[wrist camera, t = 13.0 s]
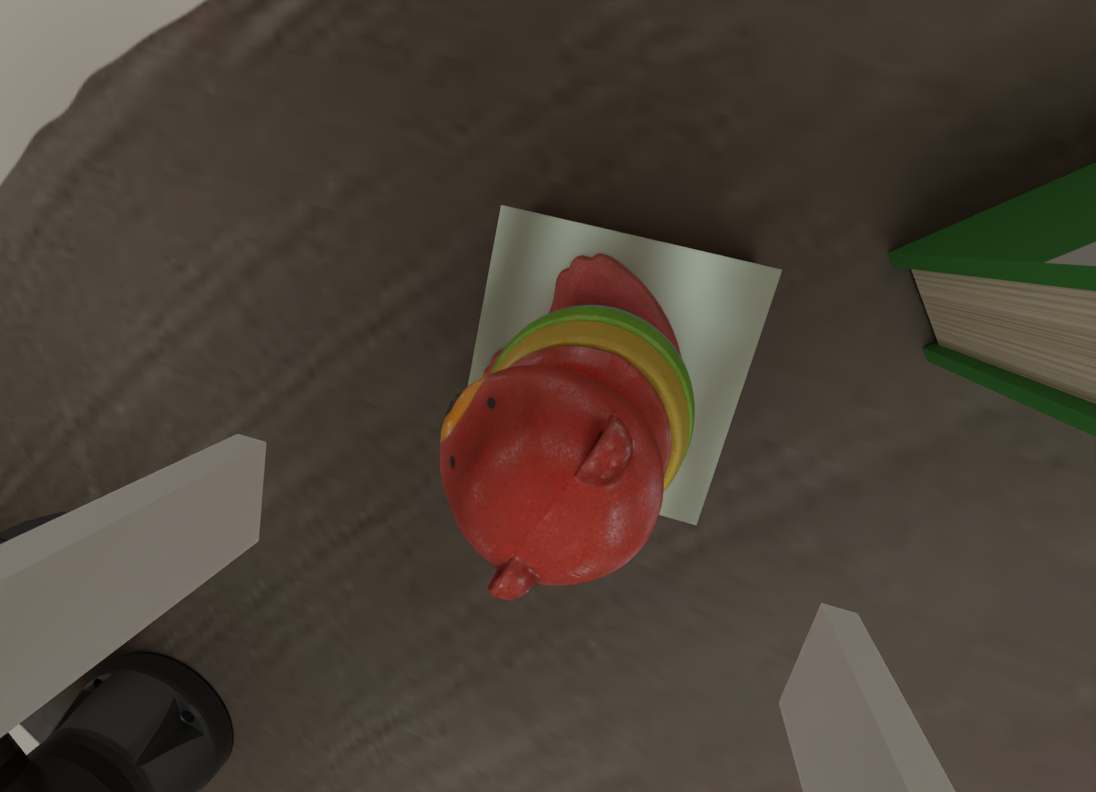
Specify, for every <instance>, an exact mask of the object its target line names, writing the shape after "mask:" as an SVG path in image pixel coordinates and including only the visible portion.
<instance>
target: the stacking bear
mask: <svg viewBox="0 0 1096 792" xmlns="http://www.w3.org/2000/svg"><path fill="white" fill-rule="evenodd" d="M694 419H695V401H694V393H693V389H692V384H691V380H690V377H689V374H688V371H687V369H686V366H685V364H684V362H683V360H682V357H681V353H680V349H679V345H678V342H677V339H676V337H675V334H674V331H673V329H672V327H671V324H670V322H669V320H668V318H667V316H666V315H665V313H664V311H663V309H662V307H661V306H660V304H659V303H658V302H657V300H656V299H655V297H654V296H653V295H652V293H651V292H650V291H649V290H648V288H647V287H646V286H645V285H644V284H643V283H642V282H641V280H640V279H638V278H637V277H636V276H635V275H634V274H633V273H632V272H631V271H630V270H628V269H627V268H626V267H625V266H624V265H622V264H621V263H620V262H618V261H617V260H615V259H614V258H612V257H610V256H608V255H605V254H601V253H598V254H596V255H594V256H593V257H588V256H584V255H580V256H577V257H576V258H574V260H573V261H572V263H571V265H570V268H566V269H564V270H562V271H561V272H560V274H559V275H558V277H557V280H556V285H555V292H554V299H553V303H552V306H551V309H550V311H549V313H548V314H547V315H545V316H543V317H540V318H539V319H537V320H535V321H533V322H532V323H530V324H529V325H527V326H526V327H525V328H523V329H522V330H521V331H520V332H519V333H518V334H516V336H515V337H514V338H513V339H512V340H511V341H510V342H509V343H508V344H507V346H506V347H505V348H503V349H501V350H499V351H498V352H497V353H495V354H494V355H493V357H492V359H491V363H490V365H489V366H488V367H487V368H486V369H485V370H484V372H483V377H482V378H480V379H478V380H477V381H475V382H474V383H472V384H471V385H469V386H468V387H467V388H466V389H465V390H464V391H462V392H461V393H460V394H458V395H456V397H455V398H454V399H453V400H452V401H451V402H450V406H449V409H448V411H447V413H446V418H445V420H444V423H443V426H442V430H441V444H440V470H441V476H442V482H443V487H444V490H445V493H446V497H447V500H448V502H449V505H450V508H451V511H452V513H453V516H454V518H455V520H456V522H457V524H458V526H459V528H460V530H461V531H462V533H463V535H464V536H465V538H466V539H467V540H468V542H469V543H470V544H471V545H472V546H473V548H474V549H475V550H476V551H477V552H478V553H479V554H480V555H482V556H483V557H484V558H485V559H486V560H487V561H489V562H490V563H491V564H492V565H494V566H495V567H496V568H497V570H496V573H495V575H494V577H493V579H492V580H491V583H490V584H489V587H488V591H489V593H490V594H491V595H493V596H494V597H497V598H500V599H504V600H512V599H515V598H519V597H521V596H523V595H524V594H526V593H527V592H528V591H529V590H530V588H531V587H532V586H533V585H534V584H535V583H539V584H544V585H572V584H579V583H584V582H588V581H591V580H594V579H597V578H600V577H603V576H605V575H607V574H609V573H612V572H613V571H615V570H617V569H619V568H620V567H622V566H623V565H625V564H626V563H627V562H628V561H629V560H630V559H631V558H633V557H634V556H635V555H636V553H637V552H638V551H639V550H640V549H641V548H642V547H643V545H644V544H645V542H646V541H647V540H648V538H649V536H650V534H651V532H652V531H653V529H654V527H655V524H656V522H657V519H658V516H659V513H660V510H661V506H662V502H663V493H664V492H665V491H666V489H667V488H668V487H669V485H670V484H671V483H672V481H673V479H674V478H675V476H676V474H677V472H678V470H679V468H680V466H681V465H682V462H683V460H684V458H685V456H686V454H687V451H688V448H689V445H690V442H691V438H692V433H693V428H694Z"/></svg>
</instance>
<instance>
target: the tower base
mask: <svg viewBox="0 0 1096 792" xmlns="http://www.w3.org/2000/svg"><path fill="white" fill-rule="evenodd" d="M598 253H601V254H605V255H608V256H610V257H612V258H614V259H615V260H617V261H618V262H620V263H621V264H622V265H624V266H625V267H626V268H627V269H628V270H630V271H631V272H632V273H633V274H634V275H635V276H636V277H637V278H638V279H640V280H641V282H642V283H643V284H644V285H645V286H646V287H647V288H648V290H649V291H650V292H651V293H652V295H653V296H654V297H655V299H656V300H657V302H658V303H659V304H660V306H661V307H662V309H663V311H664V313H665V315H666V316H667V318H668V320H669V322H670V324H671V327H672V329H673V331H674V334H675V337H676V339H677V342H678V345H679V349H680V353H681V357H682V360H683V362H684V364H685V366H686V369H687V371H688V374H689V377H690V380H691V384H692V389H693V393H694V401H695V419H694V428H693V433H692V438H691V442H690V445H689V448H688V451H687V454H686V456H685V458H684V460H683V462H682V465H681V466H680V468H679V470H678V472H677V474H676V476H675V478H674V479H673V481H672V483H671V484H670V485H669V487H668V488H667V489H666V491H665V492H664V493H663V502H662V506H661V510H660V513H659V515H662V516H665V517H669V518H672V519H676V520H679V521H683V522H686V523H690V524H693V525H697V522H698V519H699V516H700V513H701V510H702V507H703V504H704V501H705V498H706V495H707V492H708V489H709V486H710V483H711V480H712V477H713V474H714V471H715V468H716V465H717V462H718V459H719V457H720V454H721V451H722V448H723V445H724V442H725V439H726V436H727V433H728V430H729V427H730V424H731V421H732V418H733V415H734V412H735V409H736V406H737V403H738V400H739V397H740V394H741V391H742V388H743V385H744V382H745V379H746V376H747V373H748V370H749V367H750V364H751V361H752V358H753V355H754V352H755V349H756V346H757V343H758V340H759V337H760V335H761V332H762V329H763V326H764V323H765V320H766V317H767V314H768V311H769V308H770V305H771V302H772V299H773V296H774V293H775V290H776V287H777V284H778V281H779V278H780V275H781V272H782V270H781V269H777V268H773V267H769V266H765V265H761V264H757V263H752V262H748V261H744V260H739V259H735V258H731V257H726V256H722V255H718V254H713V253H709V252H705V251H700V250H696V249H692V248H687V247H683V246H679V245H674V244H670V243H666V242H661V241H657V240H653V239H648V238H644V237H640V236H635V235H631V234H627V233H622V232H618V231H613V230H609V229H605V228H600V227H596V226H592V225H587V224H583V223H579V222H574V221H570V220H566V219H561V218H557V217H553V216H548V215H544V214H540V213H535V212H531V211H526V210H522V209H517V208H512V207H508V206H503V205H501V209H500V214H499V219H498V225H497V230H496V236H495V241H494V246H493V252H492V257H491V263H490V268H489V274H488V279H487V284H486V290H485V295H484V301H483V306H482V311H481V317H480V322H479V328H478V333H477V339H476V344H475V349H474V355H473V360H472V366H471V371H470V376H469V382H468V386H469V385H471V384H472V383H474V382H475V381H477V380H478V379H480V378H482V377H483V372H484V370H485V369H486V368H487V367H488V366H489V365H490V363H491V359H492V357H493V355H494V354H495V353H497V352H498V351H499V350H501V349H503V348H505V347H506V346H507V344H508V343H509V342H510V341H511V340H512V339H513V338H514V337H515V336H516V334H518V333H519V332H520V331H521V330H522V329H523V328H525V327H526V326H527V325H529V324H530V323H532V322H533V321H535V320H537V319H539V318H540V317H543V316H545V315H547V314H548V313H549V311H550V309H551V306H552V303H553V299H554V292H555V285H556V280H557V277H558V275H559V274H560V272H561V271H562V270H564V269H566V268H570V265H571V263H572V261H573V260H574V258H576V257H577V256H580V255H584V256H588V257H593V256H594V255H596V254H598Z"/></svg>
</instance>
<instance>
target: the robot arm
mask: <svg viewBox="0 0 1096 792" xmlns="http://www.w3.org/2000/svg"><path fill="white" fill-rule="evenodd" d="M265 455H266V442H264V441H261V440H257V439H254V438H250V437H247V436H243V435H240V434H236V435H234V436H232V437H230V438H228V439H225V440H223V441H221V442H219V443H217V444H215V445H213V446H210V447H208V448H206V449H204V450H202V451H200V452H197V453H195V454H193V455H191V456H189V457H187V458H185V459H182V460H180V461H178V462H176V463H174V464H172V465H170V466H167V467H165V468H163V469H161V470H159V471H157V472H154V473H152V474H150V475H148V476H146V477H144V478H142V479H139V480H137V481H135V482H133V483H131V484H129V485H127V486H124V487H122V488H120V489H118V490H116V491H114V492H111V493H109V494H107V495H105V496H103V497H101V498H99V499H96V500H94V501H92V502H90V503H88V504H86V505H84V506H81V507H79V508H77V509H75V510H73V511H71V512H69V513H67V512H60V513H56V514H52V515H48V516H44V517H40V518H36V519H33V520H29V521H25V522H23V523H21V524H19V525H16V526H14V527H12V528H10V529H8V530H5V531H3V532H1V533H0V792H198V791H199V790H201V789H202V788H203V787H204V786H205V785H206V784H207V783H209V781H210V780H211V779H212V778H213V777H214V776H215V774H216V773H217V772H218V771H219V769H220V768H221V767H222V766H223V765H224V763H225V762H226V760H227V759H228V757H229V755H230V752H231V748H232V729H231V724H230V721H229V718H228V715H227V713H226V711H225V708H224V707H223V705H222V703H221V701H220V700H219V698H218V697H217V695H216V694H215V693H214V692H213V690H212V689H211V688H210V687H209V686H208V685H207V684H206V683H205V682H204V681H203V680H202V679H201V678H200V677H199V676H198V675H196V674H195V673H194V672H192V671H191V670H189V669H188V668H186V667H185V666H183V665H181V664H180V663H178V662H176V661H173V660H171V659H169V658H166V657H163V656H159V655H155V654H149V653H133V654H128V655H124V656H122V657H119V658H118V659H116V660H114V661H113V662H112V663H110V664H109V665H108V666H106V667H105V668H104V669H103V670H101V671H100V672H99V673H97V674H96V675H95V676H94V677H93V678H92V679H91V680H90V681H89V682H88V683H87V684H86V685H85V687H84V688H83V690H82V691H81V692H80V693H79V695H78V696H77V698H76V699H75V700H74V702H73V703H72V704H71V706H70V707H69V708H68V710H67V711H66V712H65V714H64V715H63V716H62V718H61V719H60V721H59V722H58V723H57V725H56V726H55V727H54V729H53V730H52V731H51V733H50V734H49V735H48V737H47V738H46V739H45V740H44V741H43V742H42V743H41V744H40V745H39V746H37V747H36V748H35V749H34V750H32V751H31V752H30V753H29V754H28V755H26V754H25V753H24V752H23V751H22V749H21V748H20V747H19V745H18V744H17V743H16V742H15V740H14V739H13V738H12V737H11V735H10V734H9V733H8V732H9V731H10V730H12V729H13V728H14V727H15V726H17V725H18V724H19V723H21V722H22V721H23V720H25V719H26V718H27V717H29V716H30V715H31V714H32V713H34V712H35V711H36V710H38V709H39V708H40V707H42V706H43V705H44V704H46V703H47V702H48V701H50V700H51V699H52V698H53V697H55V696H56V695H57V694H59V693H60V692H61V691H63V690H64V689H65V688H67V687H68V686H69V685H71V684H72V683H73V682H74V681H76V680H77V679H78V678H80V677H81V676H82V675H84V674H85V673H86V672H88V671H89V670H90V669H92V668H93V667H94V666H95V665H97V664H98V663H99V662H101V661H102V660H103V659H105V658H106V657H107V656H109V655H110V654H111V653H113V652H114V651H115V650H116V649H118V648H119V647H120V646H122V645H123V644H124V643H126V642H127V641H128V640H130V639H131V638H132V637H134V636H135V635H136V634H137V633H139V632H140V631H141V630H143V629H144V628H145V627H147V626H148V625H149V624H151V623H152V622H153V621H154V620H156V619H157V618H158V617H160V616H161V615H162V614H164V613H165V612H166V611H168V610H169V609H170V608H172V607H173V606H174V605H175V604H177V603H178V602H179V601H181V600H182V599H183V598H185V597H186V596H187V595H189V594H190V593H191V592H193V591H194V590H195V589H196V588H198V587H199V586H200V585H202V584H203V583H204V582H206V581H207V580H208V579H210V578H211V577H212V576H214V575H215V574H216V573H217V572H219V571H220V570H221V569H223V568H224V567H225V566H227V565H228V564H229V563H231V562H232V561H233V560H235V559H236V558H237V557H238V556H240V555H241V554H242V553H244V552H245V551H246V550H248V549H249V548H250V547H252V546H253V545H254V544H256V543H257V542H258V541H259V530H260V518H261V505H262V493H263V480H264V467H265ZM779 706H780V709H781V713H782V717H783V720H784V724H785V728H786V731H787V735H788V739H789V742H790V746H791V750H792V753H793V757H794V761H795V764H796V768H797V772H798V775H799V779H800V783H801V786H802V790H803V792H955V790H954V788H953V786H952V785H951V783H950V781H949V779H948V777H947V776H946V774H945V772H944V770H943V768H942V766H941V765H940V763H939V761H938V759H937V757H936V755H935V754H934V752H933V750H932V748H931V746H930V745H929V743H928V741H927V739H926V737H925V735H924V734H923V732H922V730H921V728H920V726H919V725H918V723H917V721H916V719H915V717H914V715H913V714H912V712H911V710H910V708H909V706H908V705H907V703H906V701H905V699H904V697H903V695H902V694H901V692H900V690H899V688H898V686H897V685H896V683H895V681H894V679H893V677H892V675H891V674H890V672H889V670H888V668H887V666H886V664H885V663H884V661H883V659H882V657H881V655H880V654H879V652H878V650H877V648H876V646H875V644H874V643H873V641H872V639H871V637H870V635H869V634H868V632H867V630H866V628H865V626H864V624H863V623H862V621H861V619H860V617H859V615H858V614H857V613H854V612H851V611H847V610H844V609H840V608H837V607H833V606H830V605H827V604H823V603H821V605H820V607H819V609H818V612H817V614H816V616H815V619H814V621H813V623H812V626H811V628H810V630H809V633H808V635H807V637H806V640H805V642H804V644H803V647H802V649H801V651H800V654H799V656H798V658H797V661H796V663H795V665H794V668H793V670H792V673H791V675H790V677H789V680H788V682H787V684H786V687H785V689H784V691H783V694H782V696H781V698H780V701H779Z"/></svg>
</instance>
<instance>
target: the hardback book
mask: <svg viewBox="0 0 1096 792" xmlns="http://www.w3.org/2000/svg"><path fill="white" fill-rule="evenodd" d="M888 256H889V259H890V261H891V264H892V267H897V268H905V269H911V270H912V273H913V276H914V278H915V281H916V284H917V287H918V289H919V292H920V295H921V297H922V300H923V303H924V306H925V308H926V311H927V314H928V316H929V319H930V322H931V325H932V327H933V330H934V333H935V336H936V338H937V341H938V342H936V343H934V344H931V345H929V346H926V347H924V348H923V350H924V352H925V355H926V358H927V360H928V361H929V362H931V363H933V364H936V365H938V366H940V367H942V368H945V369H947V370H949V371H951V372H953V373H956V374H958V375H960V376H962V377H964V378H967V379H969V380H971V381H973V382H976V383H978V384H980V385H982V386H984V387H987V388H989V389H991V390H993V391H996V392H998V393H1000V394H1002V395H1004V396H1007V397H1009V398H1011V399H1013V400H1016V401H1018V402H1020V403H1022V404H1024V405H1027V406H1029V407H1031V408H1033V409H1036V410H1038V411H1040V412H1042V413H1044V414H1047V415H1049V416H1051V417H1053V418H1056V419H1058V420H1060V421H1062V422H1064V423H1067V424H1069V425H1071V426H1073V427H1075V428H1078V429H1080V430H1082V431H1084V432H1087V433H1089V434H1091V435H1093V436H1095V437H1096V162H1095V163H1092V164H1090V165H1088V166H1086V167H1083V168H1081V169H1079V170H1076V171H1074V172H1072V173H1070V174H1067V175H1065V176H1063V177H1060V178H1058V179H1056V180H1054V181H1051V182H1049V183H1047V184H1044V185H1042V186H1040V187H1038V188H1035V189H1033V190H1031V191H1028V192H1026V193H1024V194H1022V195H1019V196H1017V197H1015V198H1012V199H1010V200H1008V201H1006V202H1003V203H1001V204H999V205H996V206H994V207H992V208H990V209H987V210H985V211H983V212H980V213H978V214H976V215H974V216H971V217H969V218H967V219H964V220H962V221H960V222H958V223H955V224H953V225H951V226H948V227H946V228H944V229H942V230H939V231H937V232H935V233H932V234H930V235H928V236H925V237H923V238H921V239H919V240H916V241H914V242H912V243H909V244H907V245H905V246H903V247H900V248H898V249H896V250H893V251H891V252H889V253H888Z"/></svg>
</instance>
